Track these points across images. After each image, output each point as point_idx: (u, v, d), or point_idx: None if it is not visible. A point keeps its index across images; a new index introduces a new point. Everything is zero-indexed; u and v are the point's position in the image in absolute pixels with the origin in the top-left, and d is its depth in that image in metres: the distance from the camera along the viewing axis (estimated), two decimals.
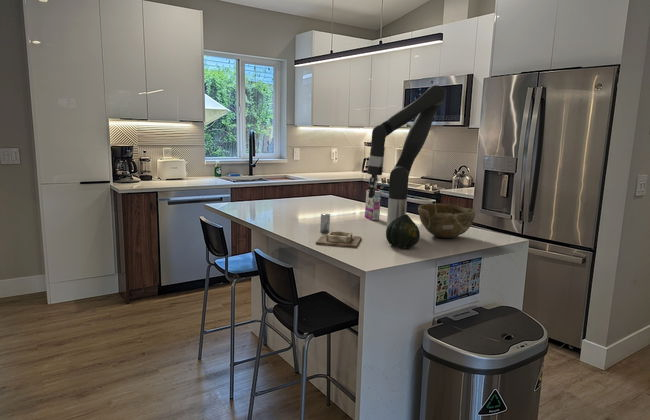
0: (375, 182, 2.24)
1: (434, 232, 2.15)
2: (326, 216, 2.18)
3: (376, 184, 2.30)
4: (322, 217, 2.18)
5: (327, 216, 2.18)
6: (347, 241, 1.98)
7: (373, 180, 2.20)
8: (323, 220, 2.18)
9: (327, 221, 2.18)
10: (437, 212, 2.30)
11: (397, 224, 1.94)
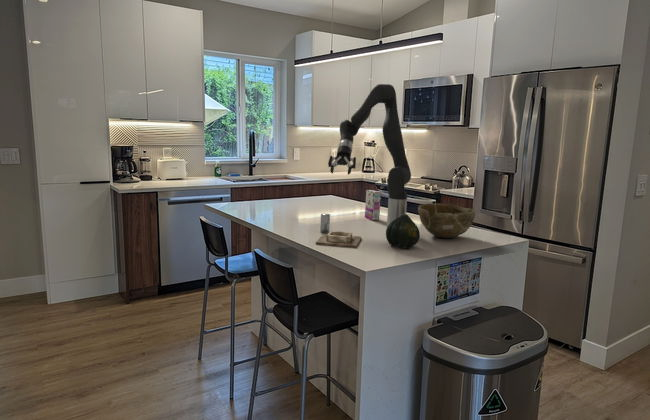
0: None
1: (434, 232, 2.15)
2: (326, 216, 2.18)
3: (346, 162, 2.32)
4: (322, 217, 2.18)
5: (327, 216, 2.18)
6: (347, 241, 1.98)
7: None
8: (323, 220, 2.18)
9: (327, 221, 2.18)
10: (437, 212, 2.30)
11: (397, 224, 1.94)
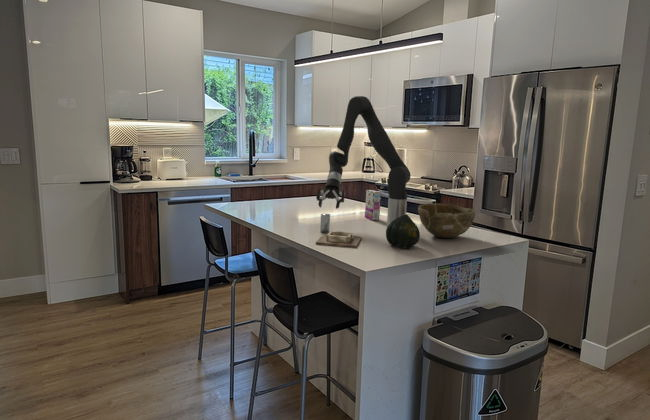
0: (325, 193, 2.30)
1: (434, 232, 2.15)
2: (326, 216, 2.18)
3: (335, 195, 2.28)
4: (322, 217, 2.18)
5: (327, 216, 2.18)
6: (347, 241, 1.98)
7: None
8: (323, 220, 2.18)
9: (327, 221, 2.18)
10: (437, 212, 2.30)
11: (397, 224, 1.94)
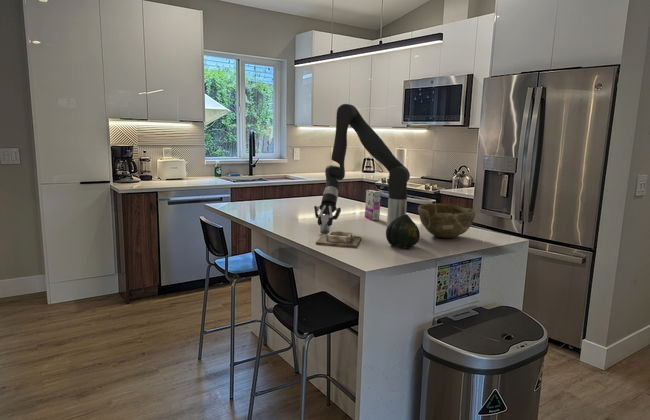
0: (322, 209, 2.23)
1: (434, 232, 2.15)
2: (326, 216, 2.18)
3: (329, 212, 2.21)
4: (322, 217, 2.18)
5: (327, 216, 2.18)
6: (347, 241, 1.98)
7: (314, 208, 2.24)
8: (323, 220, 2.18)
9: (327, 221, 2.18)
10: (437, 212, 2.30)
11: (397, 224, 1.94)
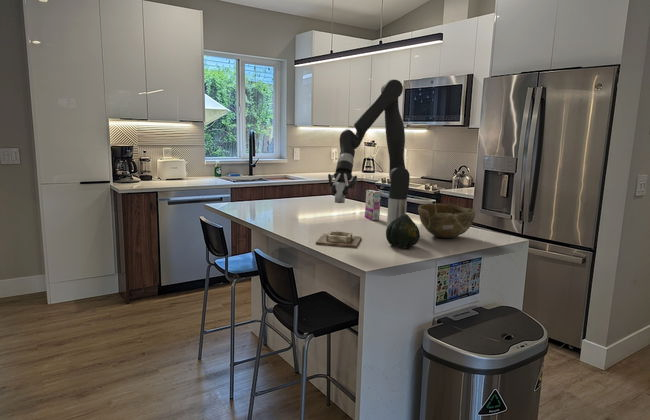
0: None
1: (434, 232, 2.15)
2: (341, 184, 1.98)
3: (344, 180, 2.02)
4: (337, 185, 1.99)
5: (342, 184, 1.99)
6: (347, 241, 1.98)
7: (328, 177, 2.05)
8: (338, 189, 1.99)
9: (342, 190, 1.99)
10: (437, 212, 2.30)
11: (397, 224, 1.94)
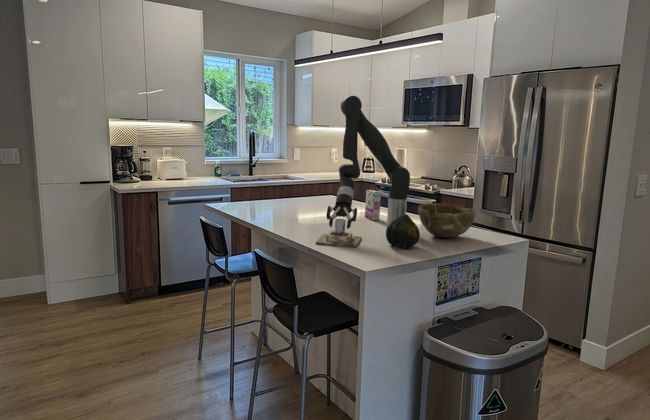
0: None
1: (434, 232, 2.15)
2: (341, 222, 2.00)
3: (346, 213, 2.03)
4: (337, 223, 2.01)
5: (342, 222, 2.00)
6: (347, 241, 1.98)
7: None
8: (338, 226, 2.01)
9: (342, 227, 2.01)
10: (437, 212, 2.30)
11: (397, 224, 1.94)
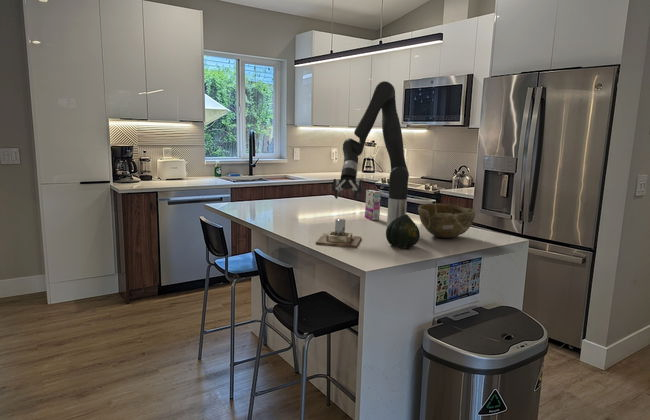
0: (341, 183, 2.14)
1: (434, 232, 2.15)
2: (341, 222, 2.00)
3: (352, 185, 2.12)
4: (337, 223, 2.01)
5: (342, 222, 2.00)
6: (347, 241, 1.98)
7: None
8: (338, 226, 2.01)
9: (342, 227, 2.01)
10: (437, 212, 2.30)
11: (397, 224, 1.94)
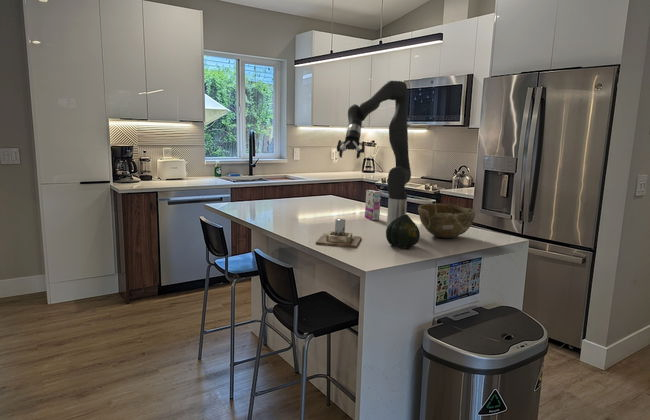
0: (345, 143, 2.32)
1: (434, 232, 2.15)
2: (341, 222, 2.00)
3: (355, 146, 2.30)
4: (337, 223, 2.01)
5: (342, 222, 2.00)
6: (347, 241, 1.98)
7: None
8: (338, 227, 2.00)
9: (342, 227, 2.01)
10: (437, 212, 2.30)
11: (397, 224, 1.94)
